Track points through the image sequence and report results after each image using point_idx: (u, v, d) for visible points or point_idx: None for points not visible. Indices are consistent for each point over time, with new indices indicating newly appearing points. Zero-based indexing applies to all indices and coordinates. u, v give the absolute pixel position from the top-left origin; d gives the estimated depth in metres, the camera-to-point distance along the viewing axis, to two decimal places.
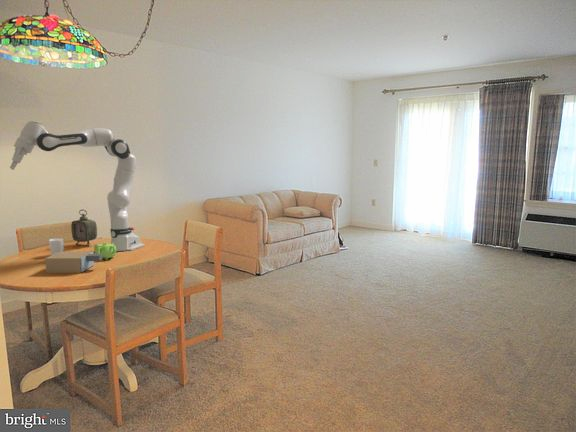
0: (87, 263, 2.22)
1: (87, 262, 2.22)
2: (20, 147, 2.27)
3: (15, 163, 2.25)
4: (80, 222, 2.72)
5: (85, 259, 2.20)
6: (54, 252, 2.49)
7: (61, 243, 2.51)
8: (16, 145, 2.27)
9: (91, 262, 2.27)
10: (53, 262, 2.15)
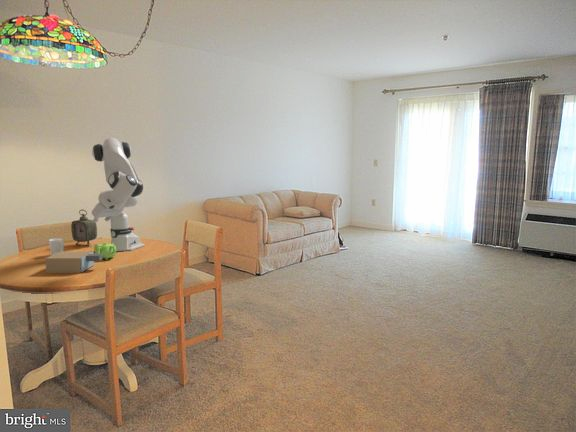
0: (87, 263, 2.22)
1: (87, 262, 2.22)
2: None
3: None
4: (80, 222, 2.72)
5: (85, 259, 2.20)
6: (54, 252, 2.49)
7: (61, 243, 2.51)
8: None
9: (91, 262, 2.27)
10: (53, 262, 2.15)
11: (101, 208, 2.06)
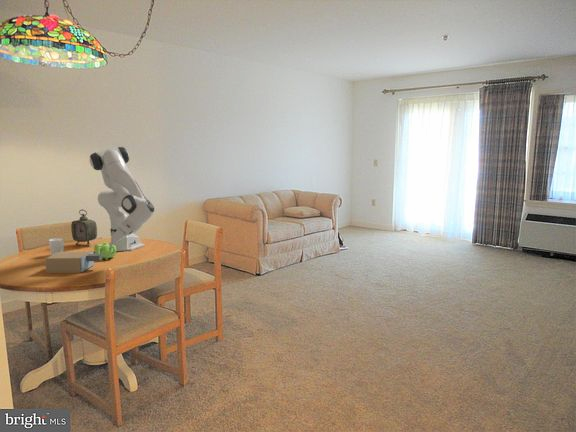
0: (87, 263, 2.22)
1: (87, 262, 2.22)
2: None
3: None
4: (80, 222, 2.72)
5: (85, 259, 2.20)
6: (54, 252, 2.49)
7: (61, 243, 2.51)
8: None
9: (91, 262, 2.27)
10: (53, 262, 2.15)
11: (122, 235, 2.12)
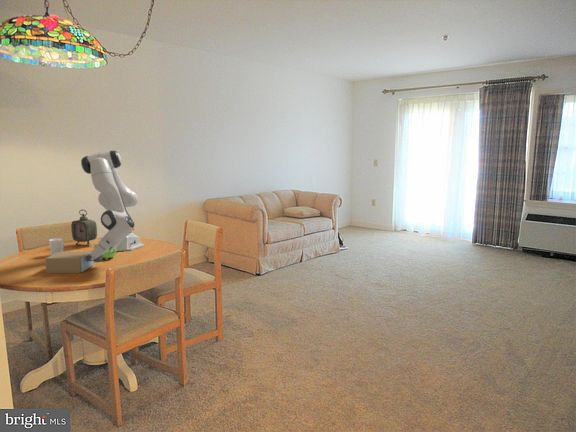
0: (87, 263, 2.22)
1: (87, 262, 2.22)
2: None
3: None
4: (80, 222, 2.72)
5: (85, 259, 2.20)
6: (54, 252, 2.49)
7: (61, 243, 2.51)
8: None
9: (91, 262, 2.27)
10: (53, 262, 2.15)
11: (101, 251, 2.13)
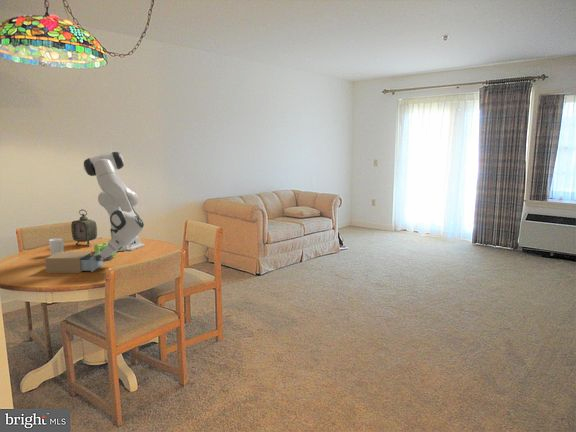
0: (96, 263, 2.22)
1: (96, 262, 2.22)
2: None
3: None
4: (80, 222, 2.72)
5: (95, 259, 2.20)
6: (54, 252, 2.49)
7: (61, 243, 2.51)
8: None
9: (100, 262, 2.27)
10: (53, 262, 2.15)
11: (111, 251, 2.13)
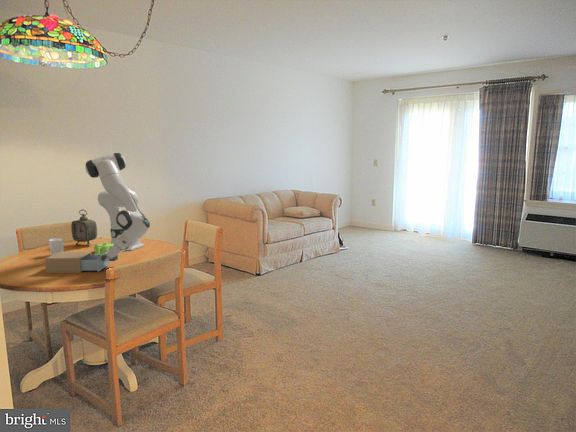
0: (103, 263, 2.22)
1: (103, 262, 2.22)
2: None
3: None
4: (80, 222, 2.72)
5: (101, 259, 2.20)
6: (54, 252, 2.49)
7: (61, 243, 2.51)
8: None
9: (106, 262, 2.27)
10: (53, 262, 2.15)
11: (117, 250, 2.13)
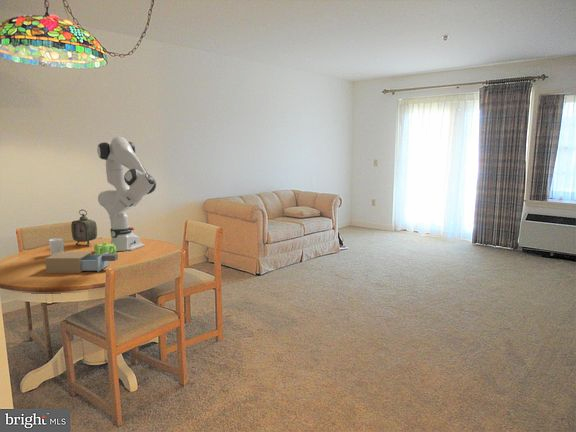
0: (103, 263, 2.22)
1: (103, 262, 2.22)
2: None
3: None
4: (80, 222, 2.72)
5: (101, 259, 2.20)
6: (54, 252, 2.49)
7: (61, 243, 2.51)
8: None
9: (106, 262, 2.27)
10: (53, 262, 2.15)
11: (122, 207, 2.12)
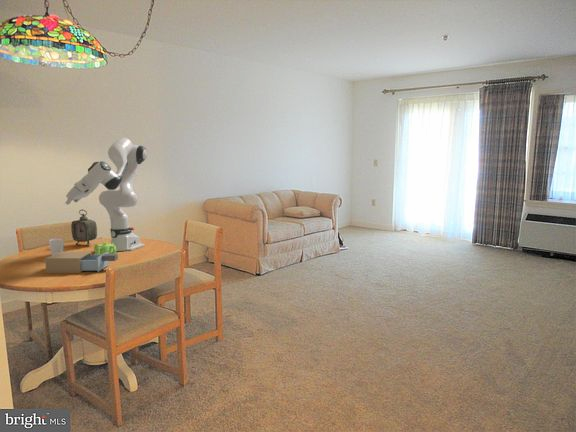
0: (103, 263, 2.22)
1: (103, 262, 2.22)
2: None
3: None
4: (80, 222, 2.72)
5: (101, 259, 2.20)
6: (54, 252, 2.49)
7: (61, 243, 2.51)
8: None
9: (106, 262, 2.27)
10: (53, 262, 2.15)
11: (77, 192, 2.20)
